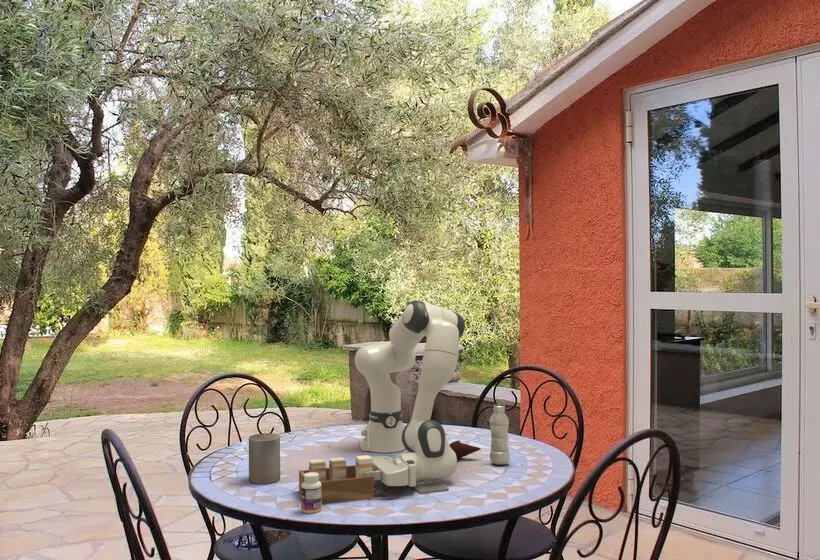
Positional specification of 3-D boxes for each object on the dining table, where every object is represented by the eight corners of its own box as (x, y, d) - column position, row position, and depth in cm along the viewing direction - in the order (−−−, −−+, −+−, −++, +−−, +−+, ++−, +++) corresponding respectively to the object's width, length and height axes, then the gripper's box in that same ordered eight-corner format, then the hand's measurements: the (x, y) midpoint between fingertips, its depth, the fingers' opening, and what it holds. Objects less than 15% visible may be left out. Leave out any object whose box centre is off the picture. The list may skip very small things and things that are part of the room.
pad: (409, 485, 205) (409, 483, 205) (437, 482, 208) (437, 480, 208) (420, 494, 197) (420, 491, 197) (448, 490, 200) (448, 488, 200)
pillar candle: (253, 475, 217) (252, 429, 217) (283, 475, 216) (283, 428, 216) (245, 485, 207) (244, 436, 207) (276, 485, 207) (276, 436, 207)
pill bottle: (302, 507, 186) (302, 471, 186) (322, 506, 186) (321, 471, 186) (300, 513, 180) (300, 477, 180) (321, 513, 181) (320, 476, 181)
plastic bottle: (509, 467, 225) (508, 407, 225) (488, 466, 226) (488, 406, 226) (510, 462, 231) (509, 403, 231) (490, 461, 232) (490, 403, 232)
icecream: (479, 438, 239) (437, 441, 240) (479, 438, 232) (436, 441, 233) (481, 458, 237) (439, 462, 238) (481, 458, 230) (437, 462, 231)
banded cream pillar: (355, 490, 201) (355, 456, 201) (368, 488, 202) (368, 455, 203) (359, 494, 197) (359, 459, 197) (372, 492, 199) (372, 458, 199)
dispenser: (299, 491, 200) (298, 457, 200) (371, 483, 208) (371, 450, 208) (308, 505, 187) (308, 469, 187) (385, 496, 195) (385, 461, 195)
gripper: (394, 449, 214) (352, 453, 209) (417, 466, 195) (371, 470, 190) (394, 469, 214) (352, 474, 209) (417, 488, 195) (371, 493, 190)
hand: (361, 472), depth 200 cm, fingers closed on banded cream pillar, 4 cm apart
